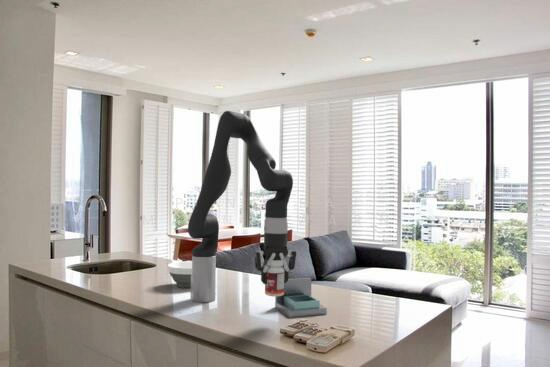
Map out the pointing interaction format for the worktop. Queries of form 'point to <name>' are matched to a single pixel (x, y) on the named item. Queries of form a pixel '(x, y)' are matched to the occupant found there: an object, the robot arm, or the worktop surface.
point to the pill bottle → (275, 279)
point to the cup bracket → (299, 299)
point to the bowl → (181, 273)
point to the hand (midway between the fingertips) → (274, 283)
